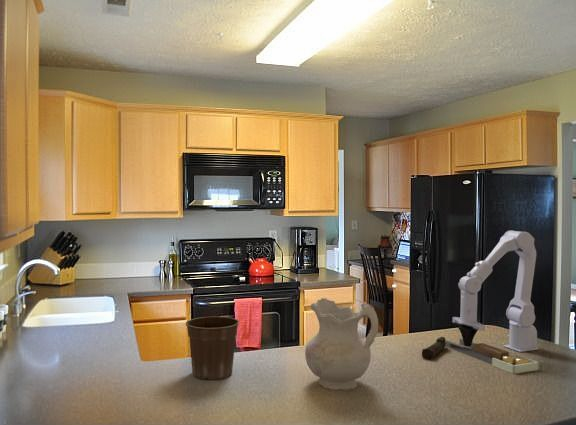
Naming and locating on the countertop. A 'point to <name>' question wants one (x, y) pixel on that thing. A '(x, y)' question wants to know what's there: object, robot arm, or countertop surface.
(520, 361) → the chip
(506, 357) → the chip
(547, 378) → the countertop surface
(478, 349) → the long wooden beam
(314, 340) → the ceramic pitcher
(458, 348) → the slot rails
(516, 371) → the tray
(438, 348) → the brown wooden log
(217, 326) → the plant pot
